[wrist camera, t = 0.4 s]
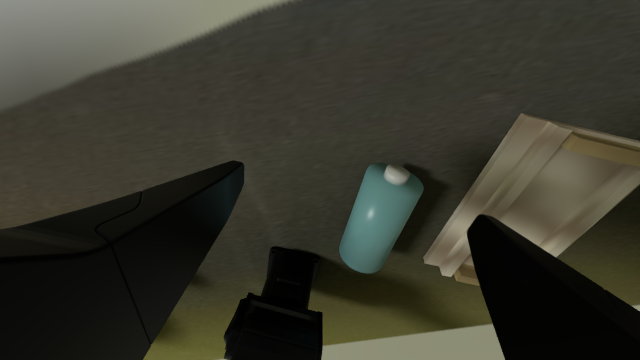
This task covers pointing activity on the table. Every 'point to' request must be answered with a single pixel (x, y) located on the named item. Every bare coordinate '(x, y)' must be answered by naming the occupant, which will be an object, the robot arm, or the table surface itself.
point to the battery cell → (379, 216)
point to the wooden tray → (541, 189)
